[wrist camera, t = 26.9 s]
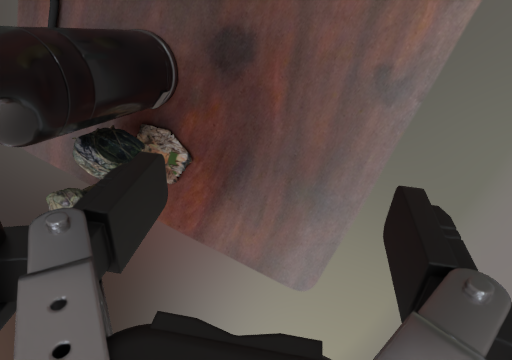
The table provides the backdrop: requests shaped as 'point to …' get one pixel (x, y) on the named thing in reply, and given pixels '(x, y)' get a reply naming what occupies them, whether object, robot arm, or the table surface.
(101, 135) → the plant with pod
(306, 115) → the table surface
